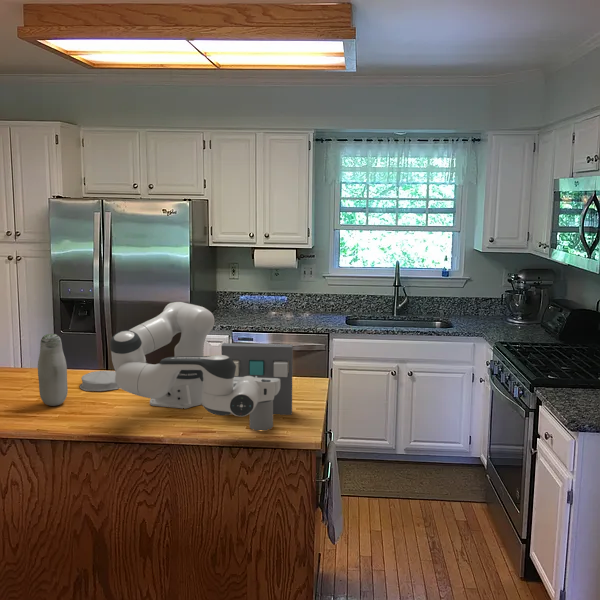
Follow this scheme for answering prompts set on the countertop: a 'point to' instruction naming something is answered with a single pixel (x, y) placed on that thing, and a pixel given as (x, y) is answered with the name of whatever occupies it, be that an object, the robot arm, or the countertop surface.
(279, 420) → the countertop surface
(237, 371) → the cream push-block
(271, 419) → the cup
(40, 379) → the grey bottle
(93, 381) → the food container
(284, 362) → the light grey push-block
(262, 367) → the teal push-block
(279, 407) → the button panel
